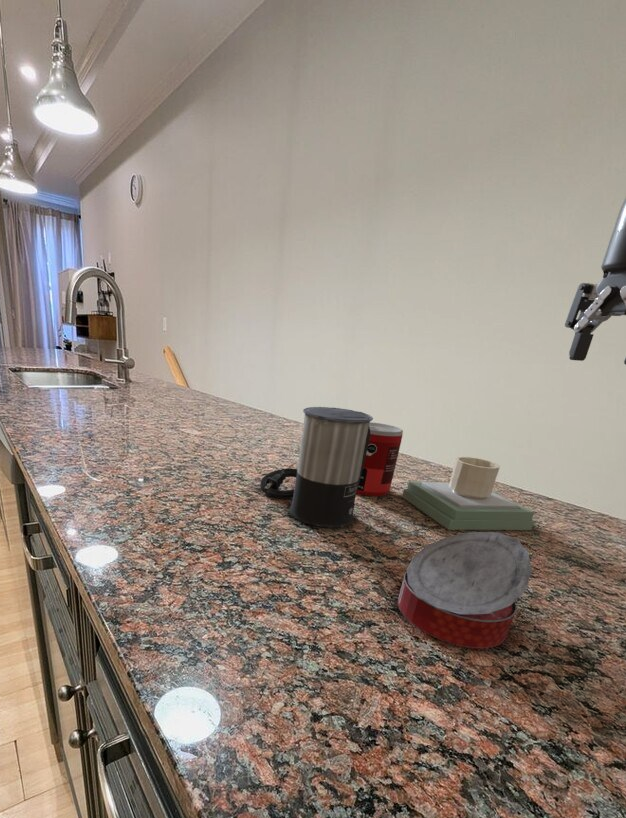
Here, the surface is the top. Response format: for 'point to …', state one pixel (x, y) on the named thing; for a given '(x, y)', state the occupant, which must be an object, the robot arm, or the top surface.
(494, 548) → the canned food
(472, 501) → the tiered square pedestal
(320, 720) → the top surface
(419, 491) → the scale
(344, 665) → the top surface
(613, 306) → the robot arm
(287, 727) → the top surface
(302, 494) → the milk frother
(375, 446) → the canned food
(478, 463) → the beige short cylinder
